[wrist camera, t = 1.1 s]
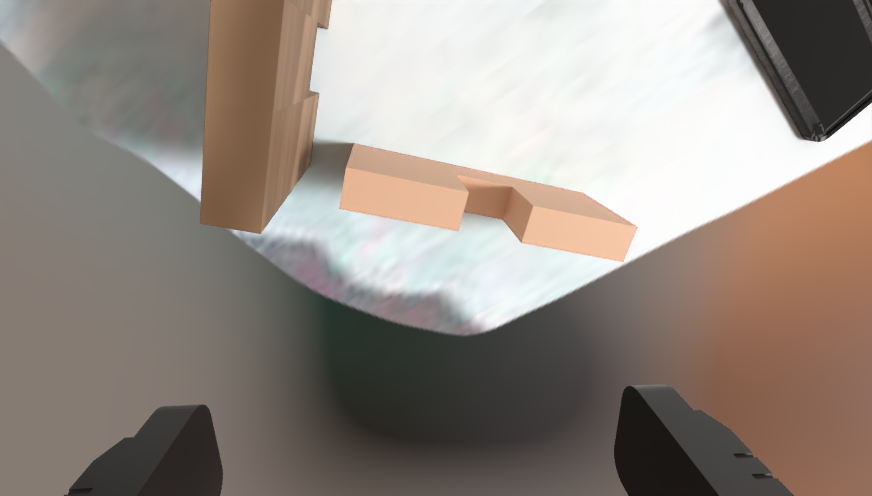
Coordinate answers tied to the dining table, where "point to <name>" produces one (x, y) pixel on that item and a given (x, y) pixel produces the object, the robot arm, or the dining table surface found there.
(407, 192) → the horizontal wooden crosspiece
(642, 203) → the dining table surface
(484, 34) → the dining table surface
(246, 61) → the upright wooden board
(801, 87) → the phone
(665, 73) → the dining table surface
